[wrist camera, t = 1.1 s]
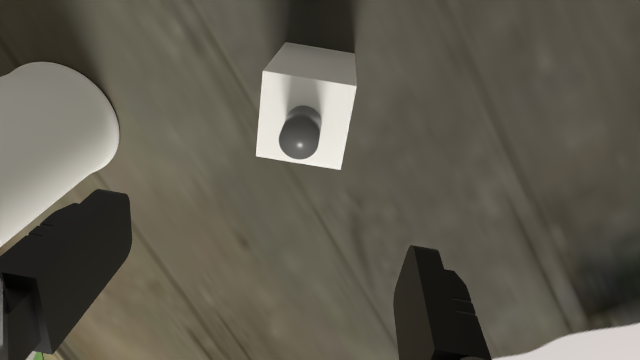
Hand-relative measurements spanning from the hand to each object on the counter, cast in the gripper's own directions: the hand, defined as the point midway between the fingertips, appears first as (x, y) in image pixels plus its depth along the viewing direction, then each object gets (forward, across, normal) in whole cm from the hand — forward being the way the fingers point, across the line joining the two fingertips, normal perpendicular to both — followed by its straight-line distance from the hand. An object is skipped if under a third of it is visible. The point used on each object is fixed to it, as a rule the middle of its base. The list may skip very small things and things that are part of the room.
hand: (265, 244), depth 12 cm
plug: (+18, 0, 0) cm, 18 cm away
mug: (+18, +19, +7) cm, 27 cm away
